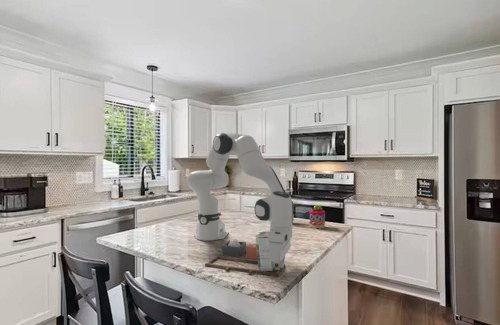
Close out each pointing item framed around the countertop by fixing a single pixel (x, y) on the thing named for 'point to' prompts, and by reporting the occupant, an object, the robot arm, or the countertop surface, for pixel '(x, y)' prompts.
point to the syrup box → (264, 252)
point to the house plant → (293, 214)
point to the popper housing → (234, 249)
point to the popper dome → (234, 243)
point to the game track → (242, 268)
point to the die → (251, 251)
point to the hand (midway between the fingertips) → (281, 266)
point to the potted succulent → (317, 217)
